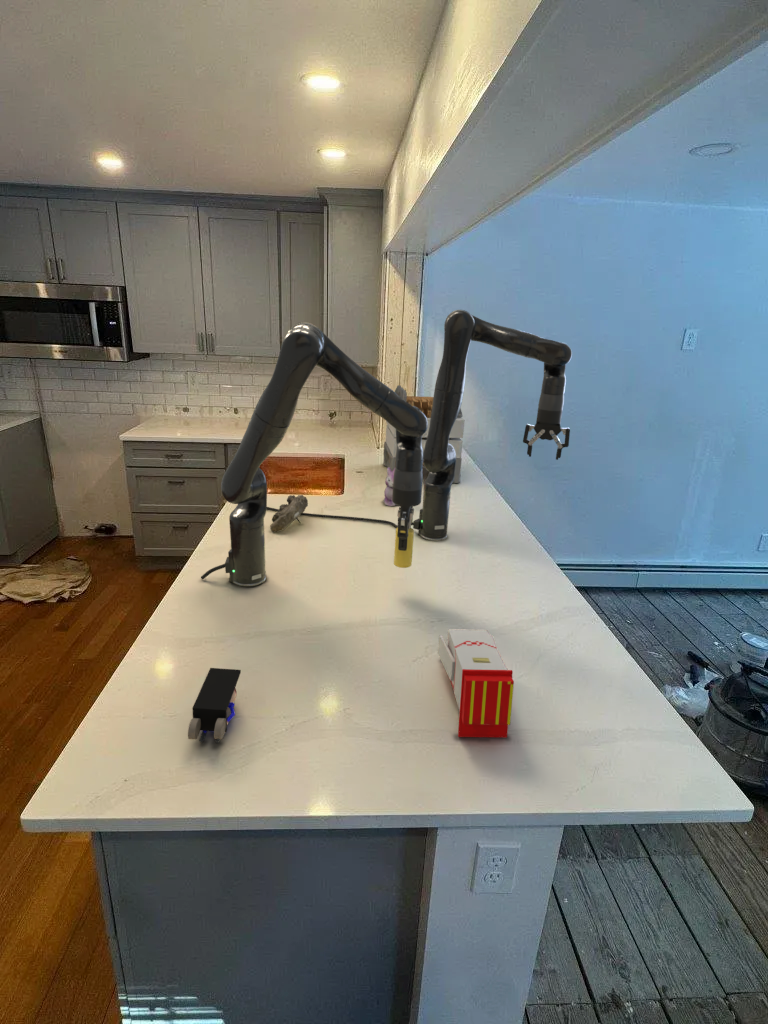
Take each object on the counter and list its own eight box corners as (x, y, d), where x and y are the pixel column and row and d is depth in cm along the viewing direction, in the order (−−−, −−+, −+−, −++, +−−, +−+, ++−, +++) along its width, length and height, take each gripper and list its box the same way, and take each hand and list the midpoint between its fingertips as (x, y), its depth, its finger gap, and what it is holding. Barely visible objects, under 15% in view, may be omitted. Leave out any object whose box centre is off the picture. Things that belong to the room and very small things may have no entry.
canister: (413, 567, 151) (415, 533, 148) (395, 568, 151) (397, 533, 147) (409, 560, 156) (412, 526, 153) (392, 560, 155) (394, 526, 152)
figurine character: (226, 757, 100) (244, 694, 114) (223, 726, 97) (241, 665, 110) (188, 756, 100) (210, 694, 114) (183, 725, 97) (207, 664, 110)
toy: (488, 613, 130) (523, 677, 101) (484, 667, 133) (517, 744, 104) (435, 612, 130) (455, 676, 101) (432, 666, 133) (451, 743, 103)
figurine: (388, 507, 225) (390, 471, 220) (377, 500, 233) (378, 464, 228) (409, 505, 229) (411, 469, 224) (397, 497, 238) (399, 462, 232)
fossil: (276, 500, 214) (305, 479, 209) (292, 519, 217) (322, 499, 212) (259, 527, 195) (291, 505, 190) (277, 547, 198) (310, 526, 193)
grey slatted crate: (382, 463, 289) (386, 382, 275) (445, 464, 293) (451, 384, 279) (390, 482, 257) (394, 392, 243) (460, 483, 261) (468, 394, 247)
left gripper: (419, 495, 139) (415, 558, 144) (424, 478, 152) (419, 537, 158) (389, 492, 140) (385, 555, 145) (396, 476, 153) (393, 534, 159)
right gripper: (526, 407, 177) (520, 458, 183) (574, 411, 174) (566, 462, 179) (527, 404, 184) (521, 452, 190) (573, 408, 181) (565, 457, 186)
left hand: (403, 545), depth 152 cm, fingers closed on canister, 5 cm apart
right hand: (543, 457), depth 185 cm, fingers open, 8 cm apart
